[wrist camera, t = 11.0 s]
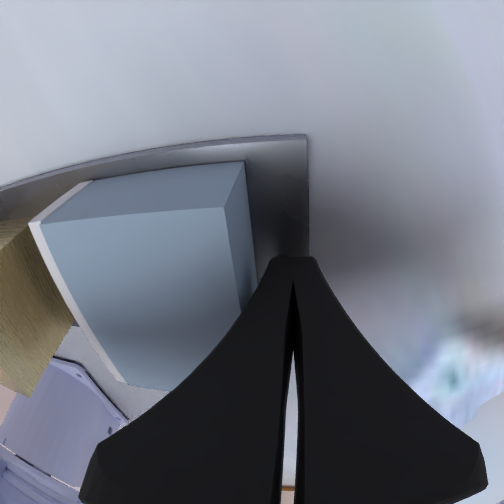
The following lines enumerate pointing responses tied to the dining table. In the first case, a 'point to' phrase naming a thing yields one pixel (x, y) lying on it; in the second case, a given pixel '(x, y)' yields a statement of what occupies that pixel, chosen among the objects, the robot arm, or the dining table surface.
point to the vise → (200, 153)
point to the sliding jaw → (153, 266)
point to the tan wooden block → (27, 309)
